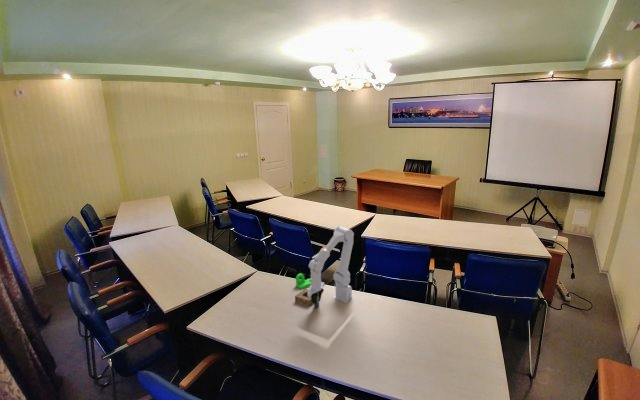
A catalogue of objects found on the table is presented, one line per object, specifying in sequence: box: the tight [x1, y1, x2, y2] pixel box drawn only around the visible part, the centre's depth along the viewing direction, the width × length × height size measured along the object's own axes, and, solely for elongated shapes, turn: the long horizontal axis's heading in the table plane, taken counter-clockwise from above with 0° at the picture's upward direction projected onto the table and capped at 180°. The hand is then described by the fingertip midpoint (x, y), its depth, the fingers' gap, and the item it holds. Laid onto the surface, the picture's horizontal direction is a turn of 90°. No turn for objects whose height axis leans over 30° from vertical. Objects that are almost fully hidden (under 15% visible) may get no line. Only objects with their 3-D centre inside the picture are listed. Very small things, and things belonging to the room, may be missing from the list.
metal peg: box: [313, 292, 320, 309], centre depth 163 cm, size 3×3×9 cm
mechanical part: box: [295, 273, 311, 290], centre depth 188 cm, size 12×6×8 cm, turn 124°
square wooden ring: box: [294, 288, 313, 307], centre depth 171 cm, size 10×10×4 cm
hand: (316, 302), depth 164 cm, fingers closed on metal peg, 3 cm apart
